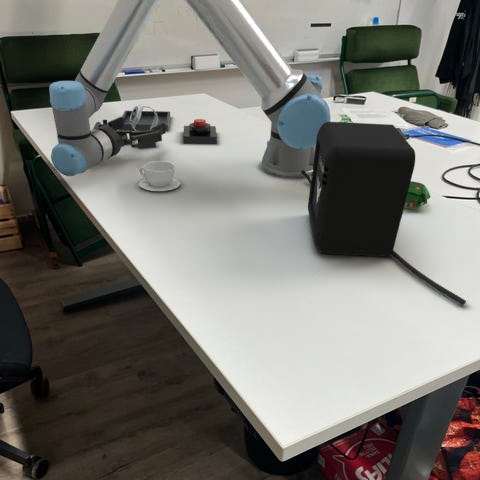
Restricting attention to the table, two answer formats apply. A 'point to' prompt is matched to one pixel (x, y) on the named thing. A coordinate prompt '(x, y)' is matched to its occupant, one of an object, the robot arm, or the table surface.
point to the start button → (199, 122)
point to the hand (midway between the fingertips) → (143, 124)
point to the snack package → (416, 195)
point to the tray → (146, 120)
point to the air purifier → (359, 187)
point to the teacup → (158, 176)
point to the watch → (135, 118)
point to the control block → (199, 134)
